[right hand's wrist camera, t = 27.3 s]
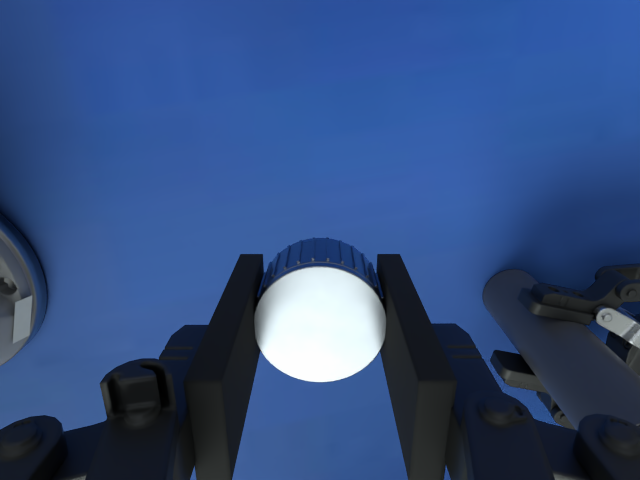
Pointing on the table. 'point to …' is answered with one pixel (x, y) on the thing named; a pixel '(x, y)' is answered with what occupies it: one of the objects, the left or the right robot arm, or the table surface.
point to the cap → (320, 311)
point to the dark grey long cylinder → (564, 355)
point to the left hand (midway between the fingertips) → (511, 333)
